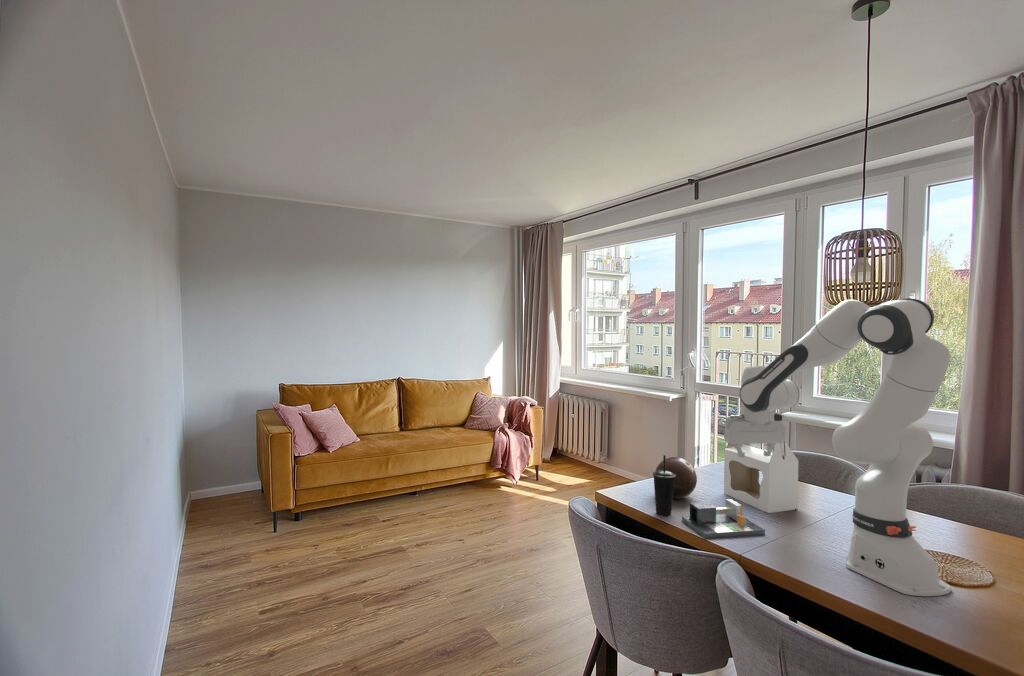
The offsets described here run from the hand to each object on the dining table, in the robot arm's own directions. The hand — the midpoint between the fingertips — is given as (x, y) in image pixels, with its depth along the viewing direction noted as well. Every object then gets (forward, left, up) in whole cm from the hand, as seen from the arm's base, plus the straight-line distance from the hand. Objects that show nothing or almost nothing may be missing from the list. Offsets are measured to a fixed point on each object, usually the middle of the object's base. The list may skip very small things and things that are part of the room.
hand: (754, 456), depth 165 cm
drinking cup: (+10, +26, -22) cm, 36 cm away
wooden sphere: (+25, +14, -22) cm, 36 cm away
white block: (-2, +11, -20) cm, 23 cm away
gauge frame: (-4, +13, -22) cm, 26 cm away
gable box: (+17, -15, -22) cm, 31 cm away
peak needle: (-7, +9, -19) cm, 22 cm away
